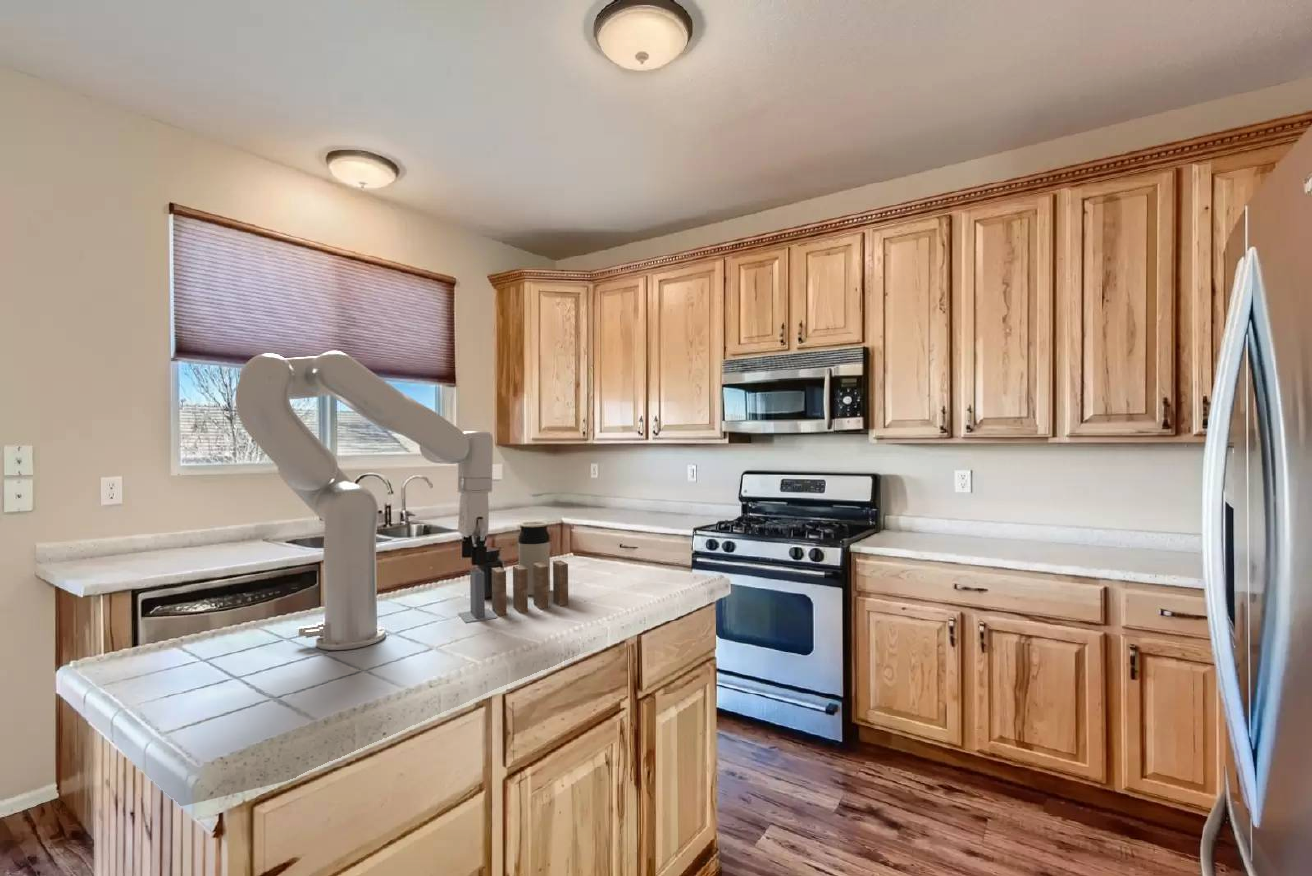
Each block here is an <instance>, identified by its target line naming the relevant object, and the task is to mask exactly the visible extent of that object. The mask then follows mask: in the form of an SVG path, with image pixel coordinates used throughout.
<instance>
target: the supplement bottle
mask: <svg viewBox="0 0 1312 876" xmlns="http://www.w3.org/2000/svg"><path fill="white" fill-rule="evenodd" d="M500 557H501V549H500V548H498V547H487V563H486V564H485V565H475V566H476V567H475V569H480V570H481V571H483V572H484V588H485V600H492V568H497V567H501V568H502V569H504V570H505V562H504V560H503V559H502V558H500Z"/></svg>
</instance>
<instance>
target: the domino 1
mask: <svg viewBox="0 0 1312 876" xmlns="http://www.w3.org/2000/svg"><path fill="white" fill-rule="evenodd" d="M469 574H470V575H469V582H470V583H469V585H470V587H469V588H470V593H469V595H470V611H471V614H472V615H473V616H474V617H475V618H483V617H485V609H486V606H485V605H486V603H485V602H486V601H485V600H486V599H485V588H484V572H483V571H481V570H480V569H476V568H474V569H469Z"/></svg>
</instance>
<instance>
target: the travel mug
mask: <svg viewBox="0 0 1312 876" xmlns="http://www.w3.org/2000/svg"><path fill="white" fill-rule="evenodd" d="M548 525H549V522H547V521H541V520H537V521H536V520H534V521H533V520H532V521H531V520H530V521H524V522H520V523H519V527H520V533H519V534H518V536H517V537H518V539H517V540H518V565H522V566H524V567H525V568H527V579H528V596H534V590H533V563H543V564H545V565H547V566H548V593H549V592H550V591H551V555H550V554H551V552H550V551H551V547H550V545H551V542H550V538H551V537H550V534H549V532H548Z"/></svg>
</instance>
